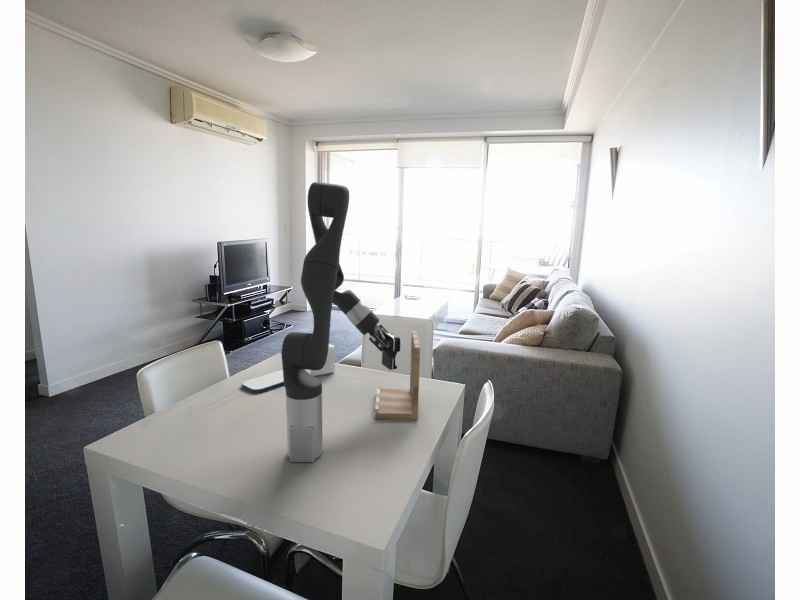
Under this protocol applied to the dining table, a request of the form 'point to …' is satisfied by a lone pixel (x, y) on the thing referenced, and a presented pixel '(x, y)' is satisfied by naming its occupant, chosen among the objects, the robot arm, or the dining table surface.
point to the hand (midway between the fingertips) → (395, 353)
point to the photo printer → (327, 363)
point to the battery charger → (395, 346)
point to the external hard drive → (264, 382)
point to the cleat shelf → (401, 392)
